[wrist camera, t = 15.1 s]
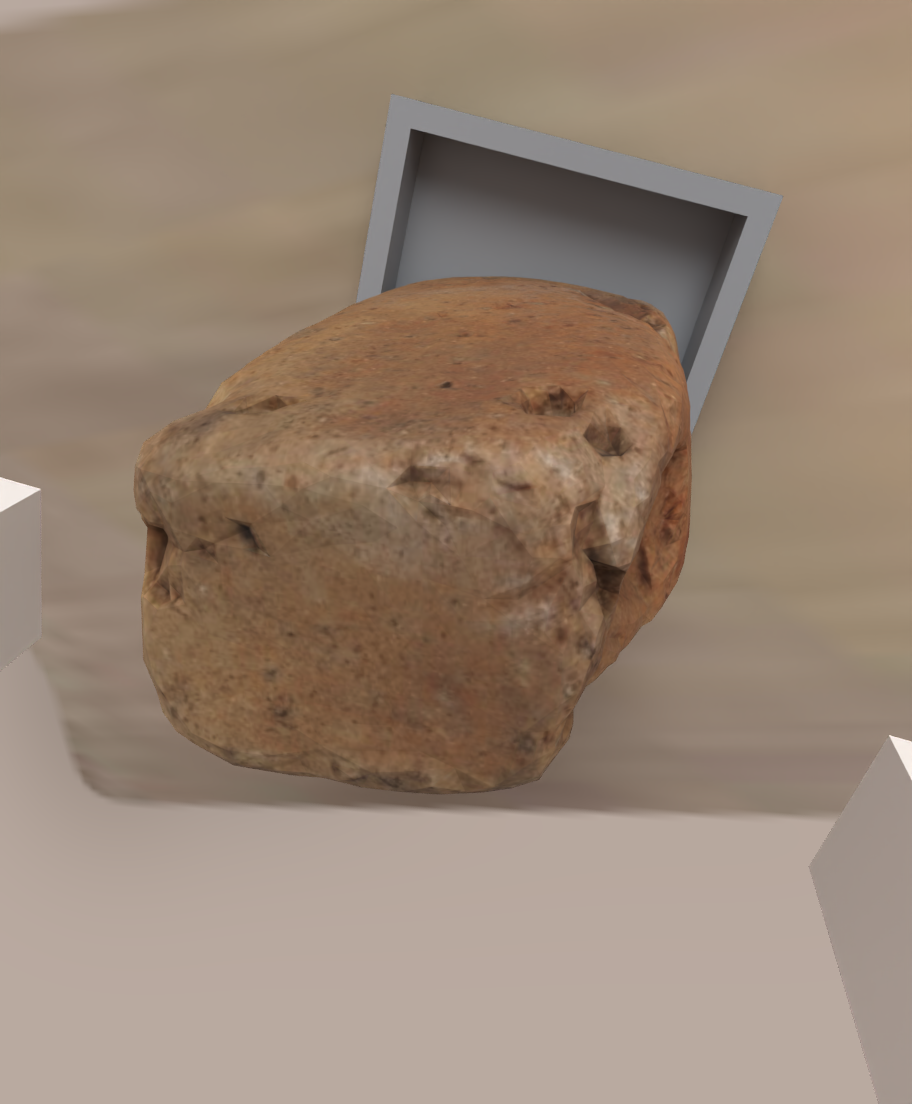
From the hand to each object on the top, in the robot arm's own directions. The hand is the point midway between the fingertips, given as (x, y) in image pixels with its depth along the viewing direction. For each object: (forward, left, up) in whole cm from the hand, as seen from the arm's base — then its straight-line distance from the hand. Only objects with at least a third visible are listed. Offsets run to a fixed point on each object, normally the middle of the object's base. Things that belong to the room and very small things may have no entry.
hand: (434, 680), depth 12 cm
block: (0, 0, -21) cm, 21 cm away
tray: (0, 0, -21) cm, 21 cm away
